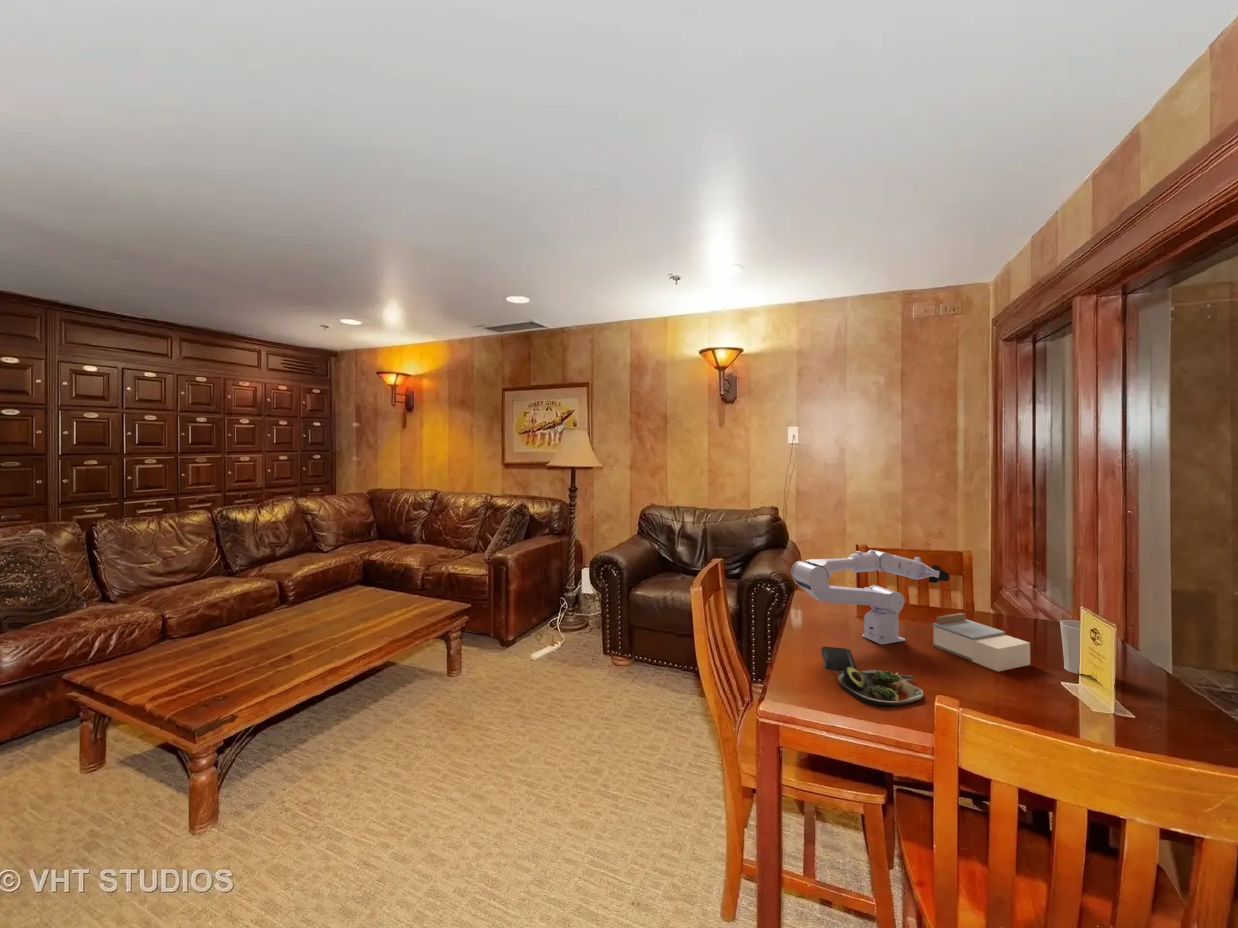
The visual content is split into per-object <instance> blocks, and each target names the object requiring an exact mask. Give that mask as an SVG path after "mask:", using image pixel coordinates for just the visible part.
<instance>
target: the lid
mask: <svg viewBox="0 0 1238 928" xmlns="http://www.w3.org/2000/svg"><path fill="white" fill-rule="evenodd" d="M931 625H932V626H936V627H939V628H942V629H945V630H948V631H950V632H953V633H956V634H959V635H962V636H965V637H968V638H970V639H976V638H982V637H987V636H993V635H998V634H1004V635H1005V634H1006V633H1005V632H1006V631H1004V630H1001V629H998V628H995V627H991V626H988V625H985V624H983V623H979V622H976V621H973V620H969V619H967V618H966V613H964V612H959V613H958V612H957V613H953V614H951V613H950V614H946V615H945V614H944V615H940V616H939V615H938V616H936V622H933V623H932V624H931Z"/></svg>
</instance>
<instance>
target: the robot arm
mask: <svg viewBox="0 0 1238 928" xmlns="http://www.w3.org/2000/svg"><path fill="white" fill-rule="evenodd" d="M913 557H914V558H913V559H912V558H907V557H903V556H900V555H895V554H893V553H891V552H885V551H880V550H875V549H874V550H873V549H870V550H868V551H867V552H866V551H865V552H862V551H860V550H856V551H855V553H851V554H849V556H848V557H845V558H844V557H843V558H814V559H806V560H805V561H803V560H798V561H796V562H795V563H794V564H793V565H792V566H791V571H790V574H791V578H792V580H793V581H794V584H796V585H797V586H799V587H800V588H801V589H803V590H804V591H805V592H806V593H807V594H808V595H809V596H811V597H812V598H813V599H814V600H817V601H819V602H822V603H832V604H834V603H835V604H848V605H858V606H859V605H861V606H870V608H871V610H870V611H868V612H866V613H865V614H864V617H863V634H862V635H861V636H862V638H863V637H864V639H865V638H866V639H867V640H870V641H873V642H875V643H877V644H879V645H883V646H884V645H888V644H894V643H899V642H905V641H906V639H905V638H904V637H901V636H899V613H901V610H903V609H904V608H903V607H904V605H905V597H904V595H903V594H902V593H901V592H899V591H894V590H891V589H888V588H885V587H882V586H880V585H878V584H876V585H875V584H873V585H871V586H868V587H867V586H865V587H864V588H860V587H850V586H840V585H839V586H837V585H830V581H829V580H830V579H831V576H832V572H833V573H834V572H839V571H840V572H841V571H847V570H850V571H852V573H855V574H856V573H866V572H876V571H881V572H883V573H890V574H893V575H896V576H900V577H901V576H902V577H905V578H907V579H910V580H916V581H918V580H923V579H926V578H928V579H927V580H928V581H927V582H928V583H932V584H936V583H938V582H949V579H950V573H948V572H946V571H944V570H943V569H941V566H939V565H938V564H932V565H931V567H930V566H928V565H927V564H925V563H924V562H922V561H921V560H922V559H921V557H918V556H913Z"/></svg>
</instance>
